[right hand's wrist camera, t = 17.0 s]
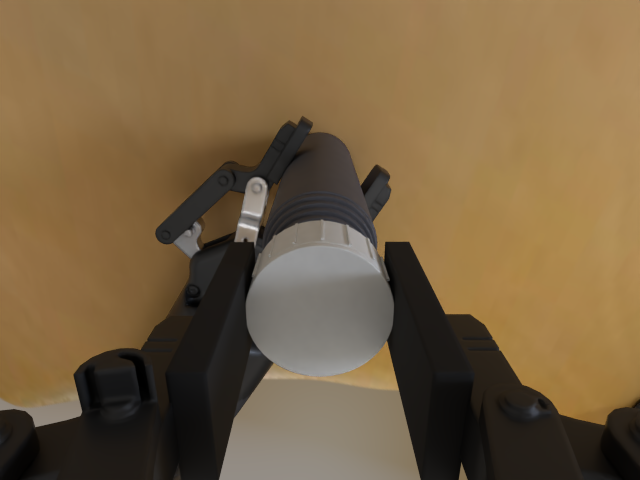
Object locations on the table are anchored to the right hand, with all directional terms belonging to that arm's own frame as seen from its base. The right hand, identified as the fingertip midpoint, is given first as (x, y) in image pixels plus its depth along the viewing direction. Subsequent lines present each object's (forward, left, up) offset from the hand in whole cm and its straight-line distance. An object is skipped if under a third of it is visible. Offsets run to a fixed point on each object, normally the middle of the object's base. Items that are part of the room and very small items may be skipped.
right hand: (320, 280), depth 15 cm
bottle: (0, 0, -18) cm, 18 cm away
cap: (0, 0, +2) cm, 2 cm away
